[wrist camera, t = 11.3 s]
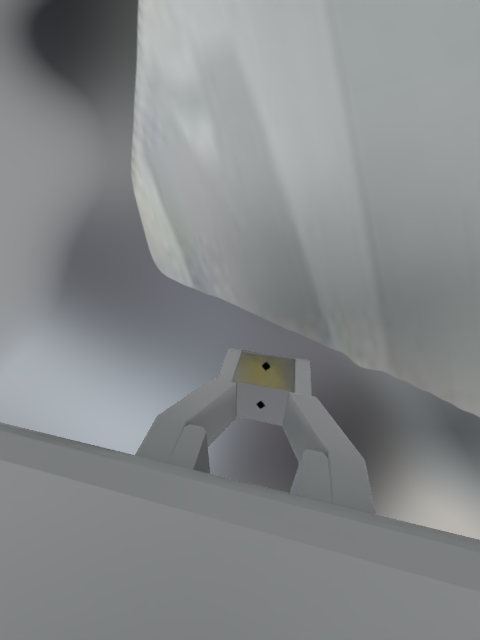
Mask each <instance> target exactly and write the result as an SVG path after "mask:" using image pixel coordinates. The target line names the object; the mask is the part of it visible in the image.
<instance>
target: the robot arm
mask: <svg viewBox="0 0 480 640" xmlns="http://www.w3.org/2000/svg"><path fill="white" fill-rule="evenodd" d="M236 417H240V418H245V419H252V420H257V421H262V422H266V423H270V424H275V425H279V426H283V430H284V432H285V434H286V436H287V438H288V440H289V442H290V445H291V447H292V449H293V451H294V453H295V455H296V457H297V459H298V462H299V466H298V470H297V472H296V476H295V479H294V482H293V485H292V488H291V491H290V493H286V492H282V491H278V490H274V489H270V488H266V487H262V486H258V485H254V484H250V483H245V482H241V481H237V480H233V479H229V478H225V477H221V476H216V475H213V474H210V467H209V457H208V446H209V445H210V444H211V443H212V442H213V441H214V440H215V439H216V438H217V437H218V436H219V435H220V434H221V433H222V432H223V431H224V430H225V429H226V428H227V427H228V426H229V425H230V424H231V423H232V422H233V421H234V420H235V418H236ZM0 640H480V540H478V539H474V538H469V537H465V536H461V535H457V534H453V533H449V532H445V531H440V530H437V529H432V528H429V527H425V526H420V525H416V524H412V523H408V522H404V521H400V520H396V519H392V518H388V517H384V516H380V515H376V512H375V508H374V503H373V498H372V493H371V488H370V483H369V479H368V474H367V469H366V464H365V460H364V459H363V458H362V456H361V455H360V453H359V452H358V451H357V450H356V448H355V447H354V446H353V444H352V443H351V442H350V440H349V439H348V438H347V437H346V435H345V434H344V433H343V431H342V430H341V429H340V428H339V426H338V425H337V424H336V422H335V421H334V420H333V418H332V417H331V416H330V414H329V413H328V412H327V411H326V409H325V408H324V407H323V405H322V404H321V403H320V401H319V400H318V399H317V398H316V397H314V396H311V372H310V362H309V360H304V359H297V358H296V359H294V358H288V357H282V356H275V355H268V354H262V353H256V352H251V351H245V350H238V349H233V348H229V350H228V351H227V353H226V356H225V359H224V361H223V364H222V366H221V369H220V371H219V374H218V377H217V379H211V380H209V381H208V382H207V383H205V384H204V385H202V386H201V387H199V388H198V389H196V390H195V391H193V392H192V393H190V394H189V395H187V396H186V397H184V398H183V399H182V400H180V401H178V402H177V403H176V404H174V405H173V406H171V407H170V408H168V409H167V410H165V411H164V412H163V413H161V414H159V415H158V416H157V417H156V419H155V421H154V423H153V424H152V426H151V428H150V430H149V432H148V434H147V435H146V437H145V439H144V440H143V442H142V444H141V446H140V448H139V449H138V451H137V453H136V454H135V455H131V454H127V453H123V452H119V451H115V450H111V449H106V448H103V447H99V446H95V445H91V444H86V443H82V442H78V441H74V440H70V439H66V438H61V437H58V436H54V435H50V434H45V433H41V432H37V431H33V430H29V429H25V428H21V427H17V426H13V425H9V424H5V423H0Z"/></svg>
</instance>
